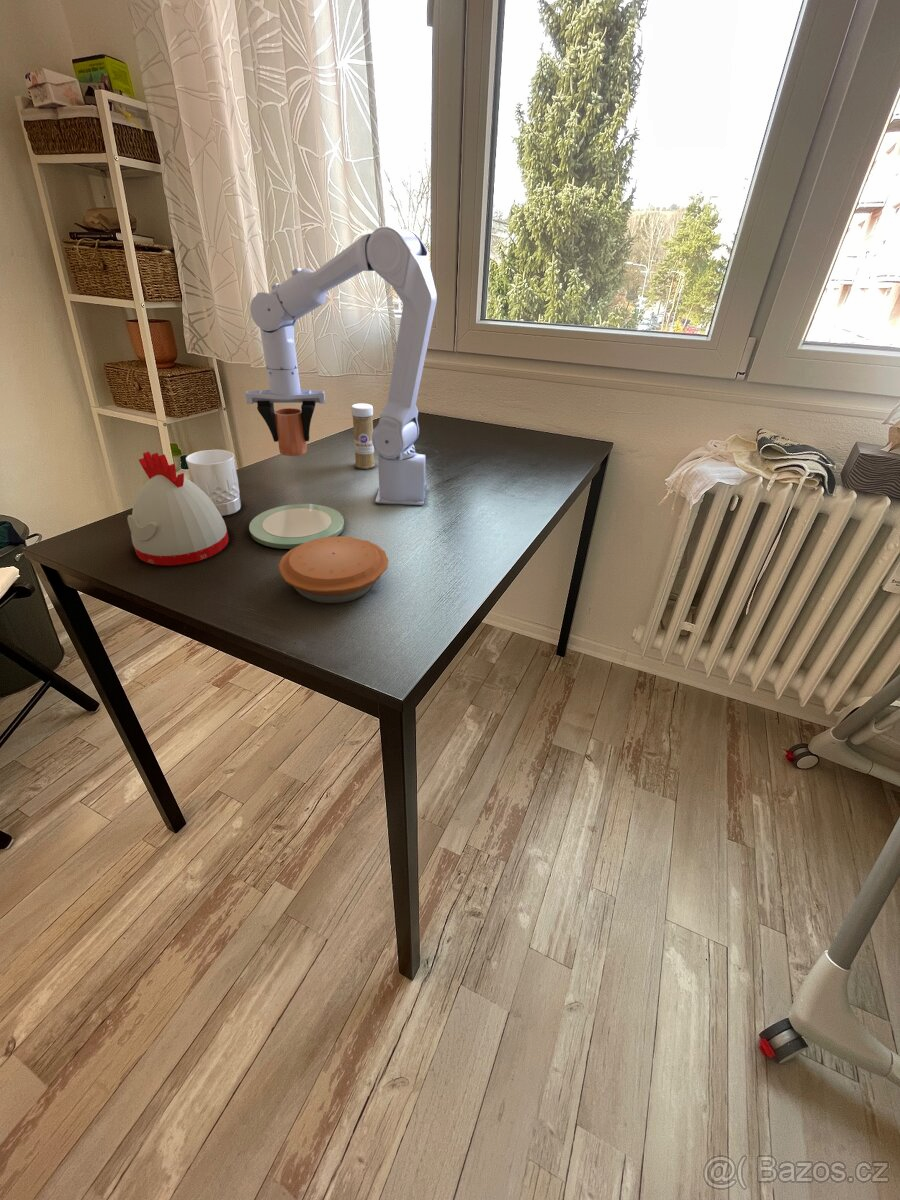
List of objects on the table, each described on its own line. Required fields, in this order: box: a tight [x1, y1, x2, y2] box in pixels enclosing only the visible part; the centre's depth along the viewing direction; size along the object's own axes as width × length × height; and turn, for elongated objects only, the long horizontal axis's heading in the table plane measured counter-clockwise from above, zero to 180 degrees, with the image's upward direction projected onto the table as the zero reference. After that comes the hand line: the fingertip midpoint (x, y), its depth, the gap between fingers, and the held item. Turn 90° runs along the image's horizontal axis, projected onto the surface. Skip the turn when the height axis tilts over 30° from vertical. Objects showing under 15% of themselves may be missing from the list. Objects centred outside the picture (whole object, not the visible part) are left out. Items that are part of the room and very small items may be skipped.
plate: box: [248, 503, 345, 550], centre depth 89 cm, size 16×16×1 cm
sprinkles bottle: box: [350, 402, 376, 470], centre depth 113 cm, size 5×5×14 cm
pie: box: [278, 535, 389, 604], centre depth 74 cm, size 16×16×5 cm
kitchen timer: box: [126, 451, 230, 566], centre depth 79 cm, size 14×14×15 cm
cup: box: [274, 407, 308, 457], centre depth 102 cm, size 5×5×8 cm
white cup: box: [185, 449, 242, 517], centre depth 92 cm, size 8×8×10 cm
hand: (292, 440), depth 103 cm, fingers closed on cup, 5 cm apart
